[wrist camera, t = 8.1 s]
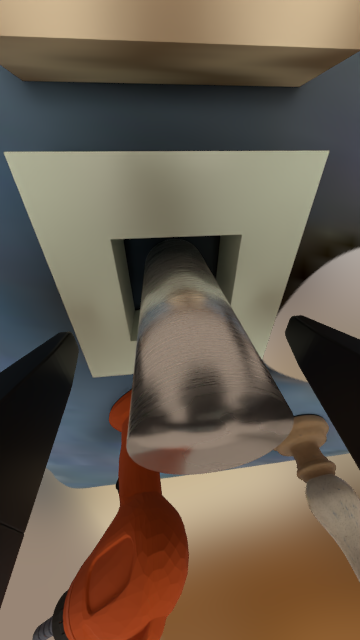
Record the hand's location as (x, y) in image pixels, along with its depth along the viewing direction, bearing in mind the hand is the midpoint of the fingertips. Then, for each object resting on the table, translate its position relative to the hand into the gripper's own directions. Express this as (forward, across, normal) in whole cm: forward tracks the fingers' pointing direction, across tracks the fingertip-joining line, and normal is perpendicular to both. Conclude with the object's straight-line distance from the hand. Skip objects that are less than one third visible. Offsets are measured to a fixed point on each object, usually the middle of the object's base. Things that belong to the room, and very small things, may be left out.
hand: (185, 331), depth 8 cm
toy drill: (+7, +7, +18) cm, 21 cm away
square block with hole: (+7, 0, 0) cm, 7 cm away
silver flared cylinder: (+7, 0, 0) cm, 7 cm away
